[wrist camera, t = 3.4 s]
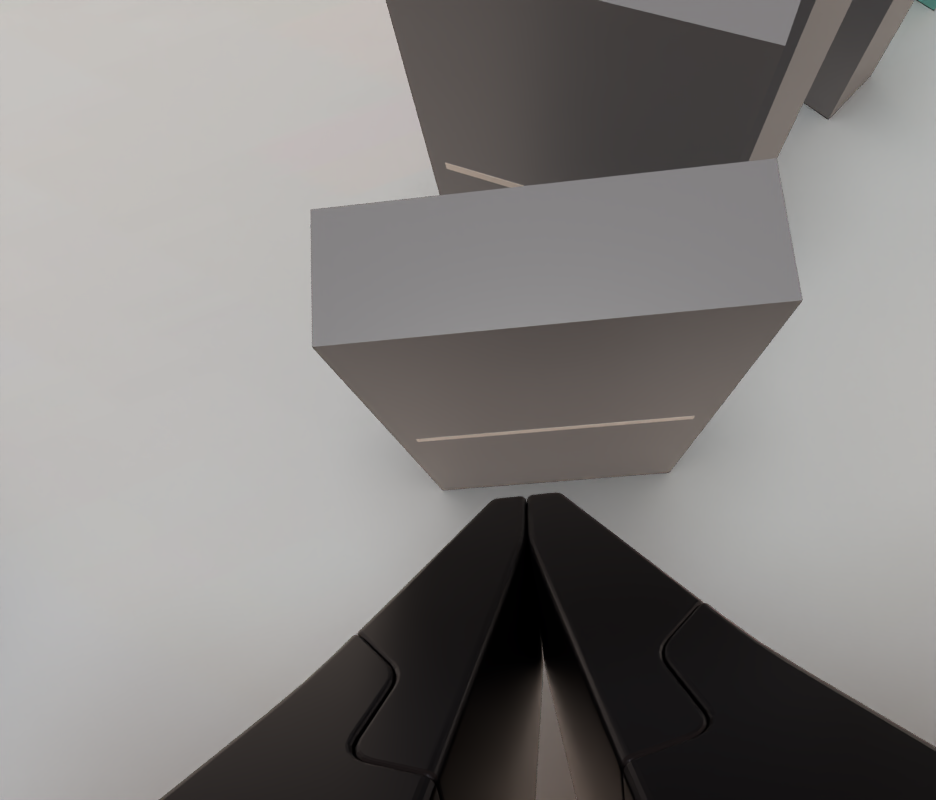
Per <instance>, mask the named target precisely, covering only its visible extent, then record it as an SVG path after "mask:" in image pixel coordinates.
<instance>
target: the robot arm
mask: <svg viewBox="0 0 936 800" xmlns="http://www.w3.org/2000/svg"><path fill="white" fill-rule="evenodd" d="M542 647H543V651H542ZM543 655H544V662H545V668H546V673H547V678H548V683H549V687H550V691H551V695H552V699H553V703H554V707H555V711H556V716H557V720H558V724H559V728H560V732H561V736H562V740H563V745H564V749H565V753H566V757H567V761H568V765H569V769H570V774H571V778H572V782H573V786H574V790H575V794H576V798H577V800H936V747H935V746H933V745H931V744H930V743H928V742H926V741H925V740H923V739H921V738H919V737H918V736H916V735H914V734H913V733H911V732H909V731H908V730H906V729H904V728H902V727H901V726H899V725H897V724H896V723H894V722H892V721H891V720H889V719H887V718H886V717H884V716H882V715H880V714H879V713H877V712H875V711H874V710H872V709H870V708H869V707H867V706H865V705H863V704H862V703H860V702H858V701H857V700H855V699H853V698H852V697H850V696H848V695H847V694H845V693H843V692H841V691H840V690H838V689H836V688H835V687H833V686H831V685H830V684H828V683H826V682H824V681H823V680H821V679H819V678H818V677H816V676H814V675H813V674H811V673H809V672H807V671H806V670H804V669H803V668H801V667H799V666H798V665H796V664H795V663H793V662H791V661H790V660H788V659H787V658H785V657H783V656H782V655H780V654H778V653H777V652H775V651H774V650H772V649H770V648H769V647H767V646H766V645H764V644H762V643H761V642H759V641H758V640H757V639H755V638H754V637H752V636H751V635H750V634H748V633H747V632H745V631H744V630H743V629H741V628H740V627H738V626H737V625H735V624H734V623H733V622H731V621H730V620H728V619H727V618H726V617H724V616H723V615H722V614H720V613H719V612H718V611H716V610H715V609H714V608H713V607H711V606H710V605H709V604H707V603H703V602H702V601H701V600H700V599H699V598H698V597H696V596H695V595H694V594H692V593H691V592H690V591H688V590H687V589H686V588H684V587H683V586H682V585H680V584H679V583H678V582H677V581H675V580H674V579H673V578H671V577H670V576H669V575H667V574H666V573H665V572H663V571H662V570H661V569H659V568H658V567H657V566H656V565H654V564H653V563H652V562H650V561H649V560H648V559H646V558H645V557H644V556H642V555H641V554H640V553H639V552H637V551H636V550H635V549H633V548H632V547H631V546H629V545H628V544H627V543H625V542H624V541H623V540H621V539H620V538H619V537H618V536H616V535H615V534H614V533H612V532H611V531H610V530H608V529H607V528H606V527H604V526H603V525H602V524H600V523H599V522H598V521H597V520H595V519H594V518H593V517H591V516H590V515H589V514H587V513H586V512H585V511H583V510H582V509H581V508H579V507H578V506H577V505H576V504H574V503H573V502H572V501H570V500H569V499H568V498H566V497H565V496H564V495H562V494H560V493H546V494H537V495H531V496H529V497H528V499H527V502H526V499H525V498H524V497H521V496H518V497H508V498H499V499H494V500H492V501H491V502H490V503H489V504H488V505H487V506H486V507H485V508H484V509H483V510H482V511H481V512H480V513H479V514H478V515H477V516H476V517H475V518H474V519H473V520H472V521H471V522H469V523H468V524H467V525H466V526H465V527H464V528H463V529H462V530H461V531H460V532H459V533H458V534H457V535H456V536H455V537H454V538H453V539H452V540H451V541H450V542H449V543H448V544H447V545H446V546H445V547H444V548H443V549H442V550H441V551H440V552H439V553H438V554H437V555H436V556H435V557H434V558H433V559H432V560H431V561H430V562H429V563H428V564H427V565H426V566H425V567H424V568H423V569H422V570H421V571H420V572H419V573H418V574H417V575H416V576H415V577H414V578H413V579H412V580H411V581H410V582H409V583H408V584H407V585H406V586H405V587H404V588H403V589H402V590H401V591H400V592H399V593H398V594H397V595H396V596H395V597H393V598H392V599H391V600H390V601H389V602H388V603H387V604H386V605H385V606H384V607H383V608H382V609H381V610H380V611H379V612H378V613H377V614H376V615H375V616H374V617H373V618H372V619H371V620H370V621H369V622H368V623H367V624H366V625H365V626H364V627H363V628H362V629H361V630H360V631H359V632H358V635H354V636H352V637H351V638H350V639H349V640H348V641H347V642H346V643H345V644H344V645H343V646H342V647H341V648H340V649H339V650H338V651H337V652H336V653H335V654H334V655H333V656H332V657H331V658H330V659H329V660H328V661H326V662H325V663H324V664H323V665H322V666H321V667H320V668H319V669H318V670H317V671H316V672H315V673H313V674H312V675H311V676H310V677H309V678H308V679H307V680H306V681H305V682H304V683H303V684H301V685H300V686H299V687H298V688H297V689H295V690H294V691H293V692H292V693H291V694H289V695H288V696H287V697H286V698H285V699H283V700H282V701H281V702H280V703H279V704H278V705H276V706H275V707H274V708H273V709H272V710H270V711H269V712H268V713H267V714H266V715H264V716H263V717H262V718H261V719H259V720H258V721H257V722H256V723H254V724H253V725H252V726H251V727H249V728H248V729H247V730H246V731H244V732H243V733H242V734H241V735H239V736H238V737H237V738H236V739H234V740H233V741H232V742H231V743H229V744H228V745H227V746H226V747H224V748H223V749H222V750H221V751H219V752H218V753H217V754H216V755H214V756H213V757H212V758H211V759H209V760H208V761H207V762H206V763H204V764H203V765H202V766H201V767H199V768H198V769H197V770H196V771H194V772H193V773H192V774H191V775H189V776H188V777H187V778H186V779H185V780H183V781H182V782H181V783H180V784H178V785H177V786H176V787H175V788H173V789H172V790H171V791H170V792H168V793H167V794H166V795H165V796H163V797H162V798H161V799H160V800H535V797H536V781H537V765H538V749H539V734H540V718H541V702H542V686H543Z"/></svg>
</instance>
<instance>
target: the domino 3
mask: <svg viewBox="0 0 936 800" xmlns="http://www.w3.org/2000/svg"><path fill="white" fill-rule="evenodd" d="M913 2H914V0H852V2H851V4H850V6H849V8H848V10H847V12H846V15H845V17H844V19H843V21H842V23H841V25H840V27H839V29H838V31H837V33H836V36H835V38H834V40H833V42H832V44H831V46H830V48H829V50H828V52H827V54H826V56H825V59H824V61H823V63H822V65H821V67H820V69H819V71H818V73H817V75H816V77H815V79H814V82H813V84H812V86H811V88H810V90H809V92H808V94H807V96H806V98H805V100H804V103H806V104H807V105H808V106H810V107H811V108H813V109H814V110H816V111H817V112H819V113H820V114H821V115H823V116H824V117H826V118H827V119H829V118H830V117H831V116H832V115H833V114H834V113H835V112H836V111H837V110H838V109H839V108H840V107H841V106H842V105H843V104H844V103H845V102H846V101H847V100H848V99H849V98H850V97H851V96H852V95H853V93H854V92H855V91H856V90H857V89H858V88H859V87H860V86H861V85H862V84H863V83H864V82H865V81H866V80H867V79H868V78H869V77H870V76H871V75H872V73H873V71H874V69H875V68H876V66H877V64H878V63H879V61H880V59H881V57H882V56H883V54H884V52H885V50H886V49H887V47H888V45H889V43H890V42H891V40H892V38H893V37H894V35H895V33H896V31H897V30H898V28H899V26H900V24H901V23H902V21H903V19H904V18H905V16H906V14H907V12H908V11H909V9H910V7H911V5H912V4H913Z"/></svg>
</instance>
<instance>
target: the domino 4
mask: <svg viewBox="0 0 936 800" xmlns="http://www.w3.org/2000/svg"><path fill="white" fill-rule="evenodd" d="M918 1H920V2H921V3H923V4H924V5H926V6H928V7H929V8H931V9H932V10H934V9H935V8H936V0H918Z"/></svg>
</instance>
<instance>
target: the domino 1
mask: <svg viewBox="0 0 936 800" xmlns="http://www.w3.org/2000/svg"><path fill="white" fill-rule="evenodd" d="M800 1H801V0H386V3H387V7H388V10H389V14H390V17H391V21H392V25H393V28H394V32H395V35H396V39H397V43H398V46H399V50H400V53H401V57H402V61H403V64H404V68H405V71H406V75H407V79H408V82H409V86H410V89H411V93H412V97H413V100H414V104H415V107H416V111H417V115H418V118H419V122H420V125H421V129H422V133H423V136H424V140H425V143H426V147H427V151H428V154H429V158H430V161H431V165H432V169H433V172H434V176H435V179H436V183H437V187H438V190H439V194H440V195H448V194H457V193H466V192H475V191H484V190H493V189H502V188H511V187H520V186H529V185H538V184H547V183H556V182H565V181H574V180H583V179H592V178H602V177H611V176H620V175H629V174H638V173H647V172H656V171H665V170H674V169H683V168H692V167H701V166H710V165H719V164H728V163H737V162H739V160H740V158H741V155H742V153H743V150H744V148H745V145H746V143H747V140H748V138H749V135H750V133H751V130H752V128H753V125H754V123H755V120H756V118H757V115H758V113H759V110H760V108H761V105H762V103H763V100H764V98H765V95H766V93H767V90H768V88H769V85H770V83H771V80H772V78H773V75H774V73H775V70H776V68H777V65H778V62H779V60H780V57H781V55H782V52H783V50H784V47H785V45H786V42H787V39H788V36H789V33H790V30H791V27H792V25H793V22H794V19H795V16H796V13H797V10H798V7H799V4H800Z"/></svg>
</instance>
